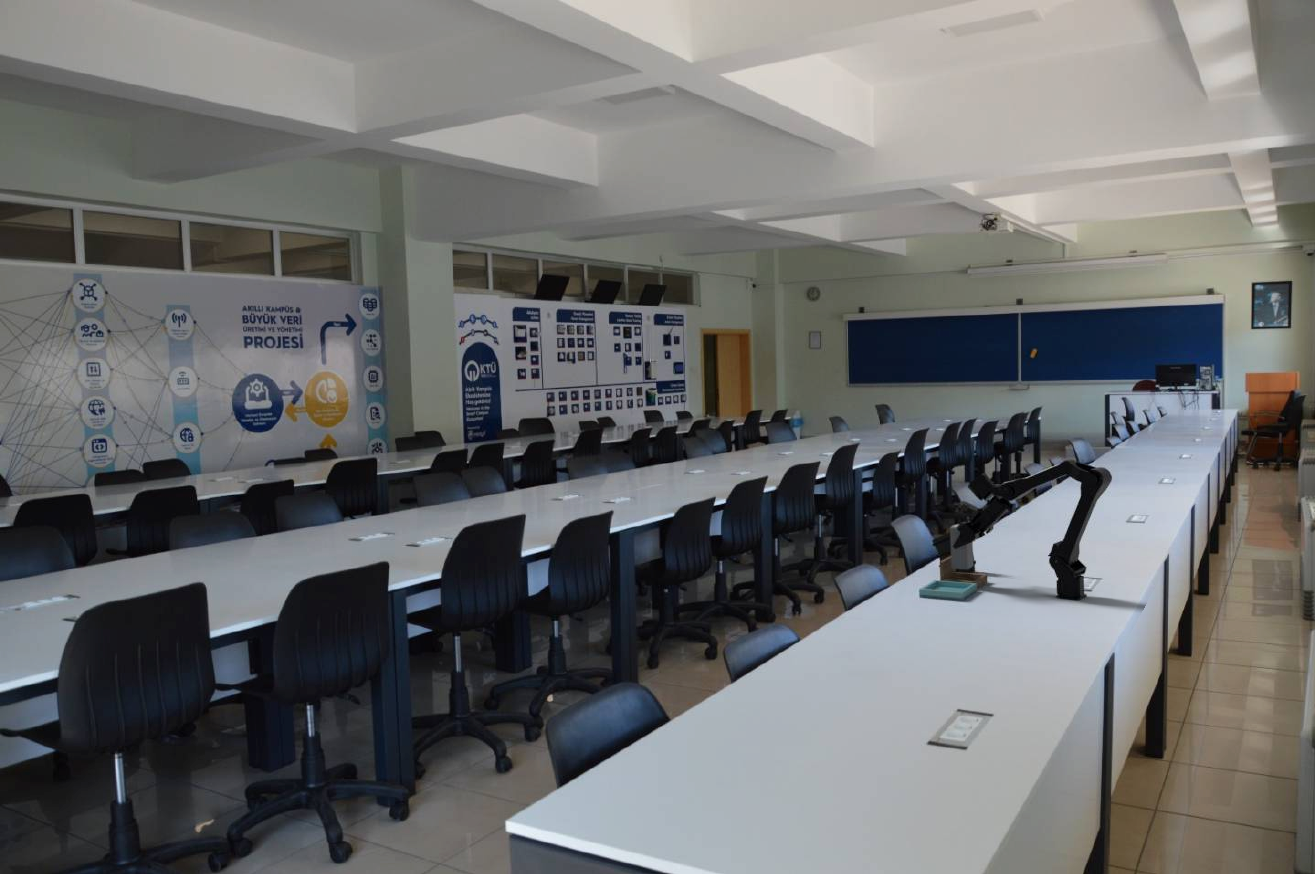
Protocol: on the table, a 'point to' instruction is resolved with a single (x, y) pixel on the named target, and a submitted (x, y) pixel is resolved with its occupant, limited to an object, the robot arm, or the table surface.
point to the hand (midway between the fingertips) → (957, 546)
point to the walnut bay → (959, 574)
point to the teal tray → (948, 590)
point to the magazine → (948, 551)
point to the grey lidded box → (960, 552)
